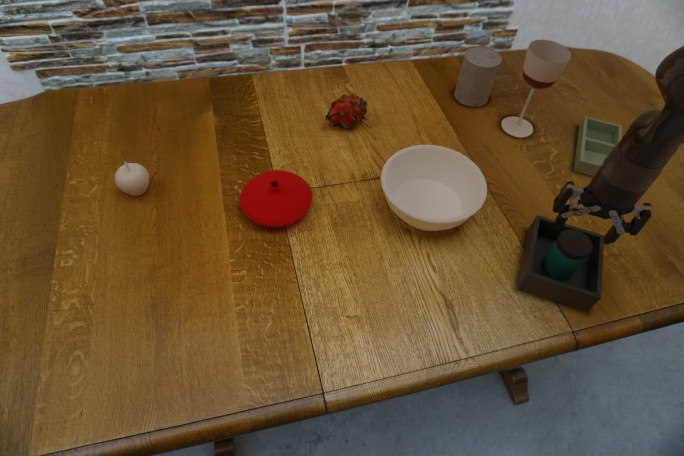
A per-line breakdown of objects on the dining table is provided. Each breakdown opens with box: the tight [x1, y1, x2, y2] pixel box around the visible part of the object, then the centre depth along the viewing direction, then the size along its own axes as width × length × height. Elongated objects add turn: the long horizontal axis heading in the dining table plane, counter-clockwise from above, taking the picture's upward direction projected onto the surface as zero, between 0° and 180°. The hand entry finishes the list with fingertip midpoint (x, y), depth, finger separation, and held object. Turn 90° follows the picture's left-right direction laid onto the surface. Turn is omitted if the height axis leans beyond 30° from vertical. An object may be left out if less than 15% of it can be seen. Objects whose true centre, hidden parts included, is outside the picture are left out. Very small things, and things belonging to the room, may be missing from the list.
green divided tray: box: [573, 115, 623, 177], centre depth 115 cm, size 9×18×4 cm, turn 159°
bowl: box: [380, 144, 488, 232], centre depth 100 cm, size 22×22×8 cm
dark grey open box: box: [516, 214, 605, 313], centre depth 92 cm, size 14×16×6 cm
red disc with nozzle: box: [239, 169, 313, 228], centre depth 100 cm, size 16×16×7 cm
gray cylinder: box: [453, 45, 503, 108], centre depth 124 cm, size 10×10×12 cm
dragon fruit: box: [324, 93, 368, 130], centre depth 117 cm, size 8×8×12 cm
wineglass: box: [500, 39, 572, 138], centre depth 113 cm, size 9×10×22 cm
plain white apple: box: [114, 161, 150, 197], centre depth 101 cm, size 7×7×8 cm
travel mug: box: [541, 229, 593, 281], centre depth 91 cm, size 6×6×9 cm
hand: (582, 233), depth 85 cm, fingers open, 8 cm apart
